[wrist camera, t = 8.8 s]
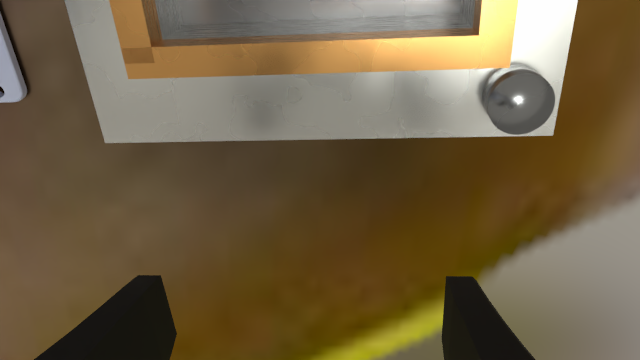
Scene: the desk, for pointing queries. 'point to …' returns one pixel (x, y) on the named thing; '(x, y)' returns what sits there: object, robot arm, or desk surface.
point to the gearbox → (322, 68)
